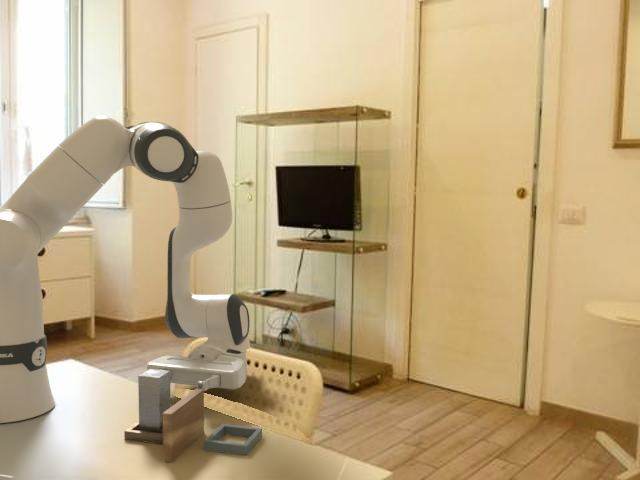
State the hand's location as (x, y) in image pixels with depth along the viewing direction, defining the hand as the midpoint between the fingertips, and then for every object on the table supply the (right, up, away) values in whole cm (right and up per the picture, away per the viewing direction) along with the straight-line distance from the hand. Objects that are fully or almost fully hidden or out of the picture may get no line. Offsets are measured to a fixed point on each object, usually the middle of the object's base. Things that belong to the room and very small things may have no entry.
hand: (178, 384), depth 118 cm
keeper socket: (+12, -7, -12) cm, 19 cm away
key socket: (-2, -7, -8) cm, 11 cm away
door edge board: (+4, -7, -14) cm, 16 cm away
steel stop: (-2, -7, -8) cm, 11 cm away
